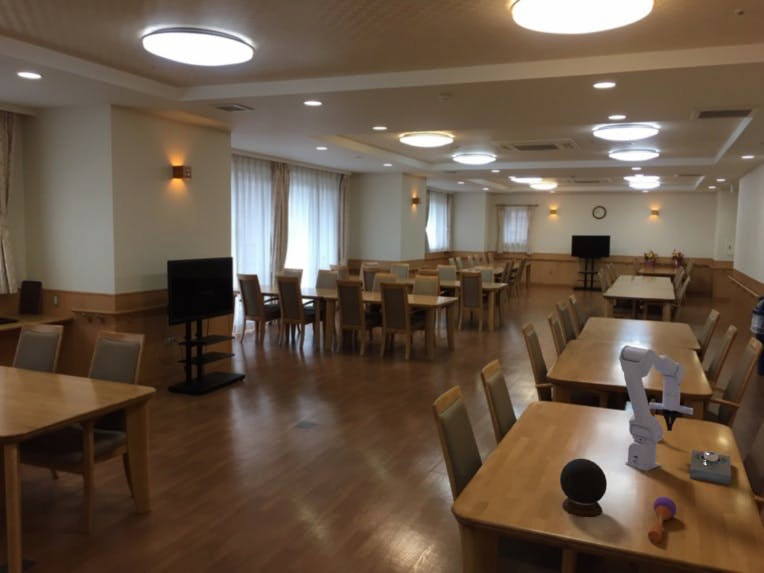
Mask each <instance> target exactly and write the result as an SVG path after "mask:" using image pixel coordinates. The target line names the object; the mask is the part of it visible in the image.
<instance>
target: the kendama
mask: <svg viewBox="0 0 764 573" xmlns="http://www.w3.org/2000/svg"><path fill="white" fill-rule="evenodd" d="M653 510H654V513H655V515H656V517H657V518H658V519H657V520H656V522H655V523H654V525H653V526H652V527H651V529H650V530H649V531H648V534H647V538H648V540H649V541H651V542H654V543H658V544H659V543H660V542H661V541H662V537H663V536H662V535H663V534H662V533H663V524H664V521H668V520H670V519H672V518H674V517H675V515H676V513H677V505H676V503H675V502H674V501H673V499H671V498H669V497H667V496H661V497H660V496H659V497H658V498H656V499H655V500H654V502H653Z"/></svg>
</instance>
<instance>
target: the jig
mask: <svg viewBox="0 0 764 573" xmlns="http://www.w3.org/2000/svg"><path fill="white" fill-rule="evenodd" d="M704 452H705V451H700V450H694V449H692V450H691V458H690V468H689V478H690V479H695V480H702V481H707V482H712V483H717V484H722V485H726V486H727V485H728V486H731V485H732V465H731V455H724V454H719V453H718V462H711V461H707V460H704Z"/></svg>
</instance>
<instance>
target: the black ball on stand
mask: <svg viewBox="0 0 764 573" xmlns="http://www.w3.org/2000/svg"><path fill="white" fill-rule="evenodd" d="M607 482H608V481H607V478H606V474H605V472H604V470H603V469H602V468H601V467H600V465H598V464H597V463H596V462H595V461H592V460H590V459H587V458H576V459H572V460H570V461H568V462H567V463H566V464H565V465H564V466H563V468H562V469H561V473H560V477H559V483H560V488H561V490H562V492H563V494H564V495H565V497H566V498H565V499H564V500H563V501H562V509H563V510H564V511H565V512H566V511H567V512H566V513H567V514H570V515H572V514H573V515H572V516H574V515H576V516H575V517H578V516H579V517H578V518H584V517H589V518H588V519H590V518H591V517H593V518H597V516H598V517H600V516H601V515H602V513H603V508H602V506H601V505H600V503H599V501H600V500H601V499H602V498H603V497H604V496H605V494H606V492H607V487H608V486H607V485H608V484H607Z"/></svg>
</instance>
